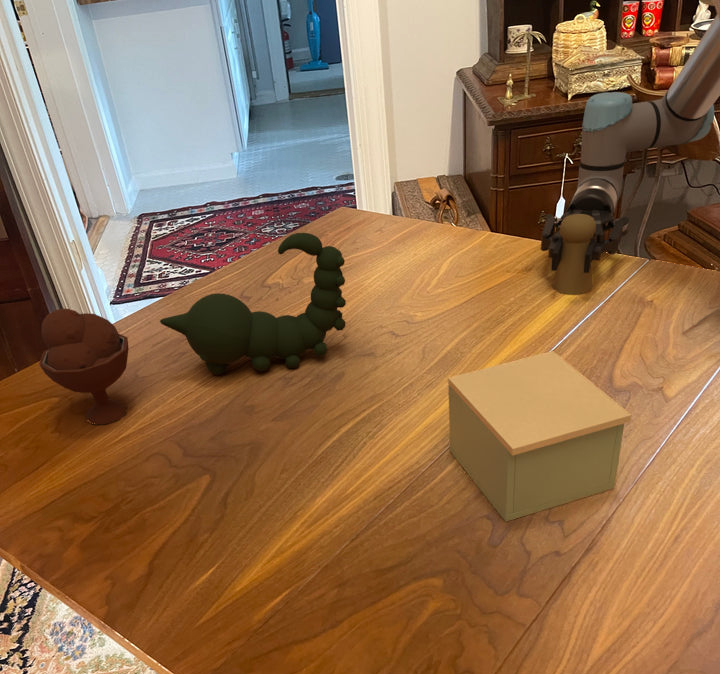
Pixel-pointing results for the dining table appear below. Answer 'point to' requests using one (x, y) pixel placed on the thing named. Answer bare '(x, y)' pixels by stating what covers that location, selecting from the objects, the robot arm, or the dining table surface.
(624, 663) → the dining table surface
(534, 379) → the caddy lid
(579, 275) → the cork
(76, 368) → the ice cream bowl
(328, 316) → the toy figurine
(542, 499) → the box
